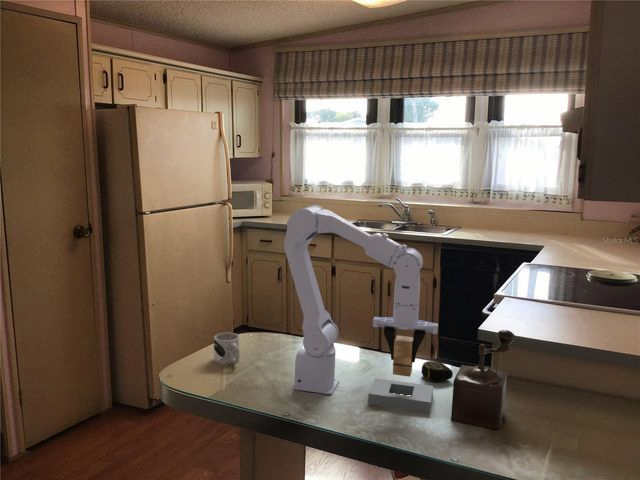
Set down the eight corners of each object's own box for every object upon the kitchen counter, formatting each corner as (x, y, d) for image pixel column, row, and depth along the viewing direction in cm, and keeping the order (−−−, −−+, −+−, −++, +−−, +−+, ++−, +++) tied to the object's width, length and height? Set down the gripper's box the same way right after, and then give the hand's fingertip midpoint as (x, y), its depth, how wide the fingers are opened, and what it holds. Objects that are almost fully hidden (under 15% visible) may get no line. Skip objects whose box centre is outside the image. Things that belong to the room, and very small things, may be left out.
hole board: (368, 403, 126) (368, 393, 126) (374, 387, 135) (374, 378, 134) (430, 412, 123) (430, 402, 122) (432, 395, 131) (433, 385, 131)
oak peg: (392, 374, 126) (394, 341, 125) (394, 367, 130) (396, 335, 128) (410, 376, 125) (412, 343, 124) (412, 370, 129) (414, 337, 127)
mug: (209, 358, 150) (209, 335, 149) (231, 353, 154) (231, 331, 153) (226, 371, 142) (226, 346, 141) (249, 365, 146) (249, 341, 145)
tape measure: (453, 382, 139) (454, 368, 139) (429, 385, 137) (430, 371, 137) (439, 372, 146) (440, 358, 145) (416, 374, 144) (417, 361, 143)
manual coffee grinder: (502, 432, 115) (510, 350, 112) (449, 420, 119) (455, 341, 116) (509, 402, 129) (516, 329, 126) (461, 392, 133) (467, 321, 130)
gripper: (371, 304, 123) (369, 361, 125) (438, 310, 119) (434, 370, 121) (376, 296, 129) (374, 351, 132) (439, 302, 126) (435, 358, 128)
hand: (403, 359), depth 127 cm, fingers closed on oak peg, 4 cm apart
